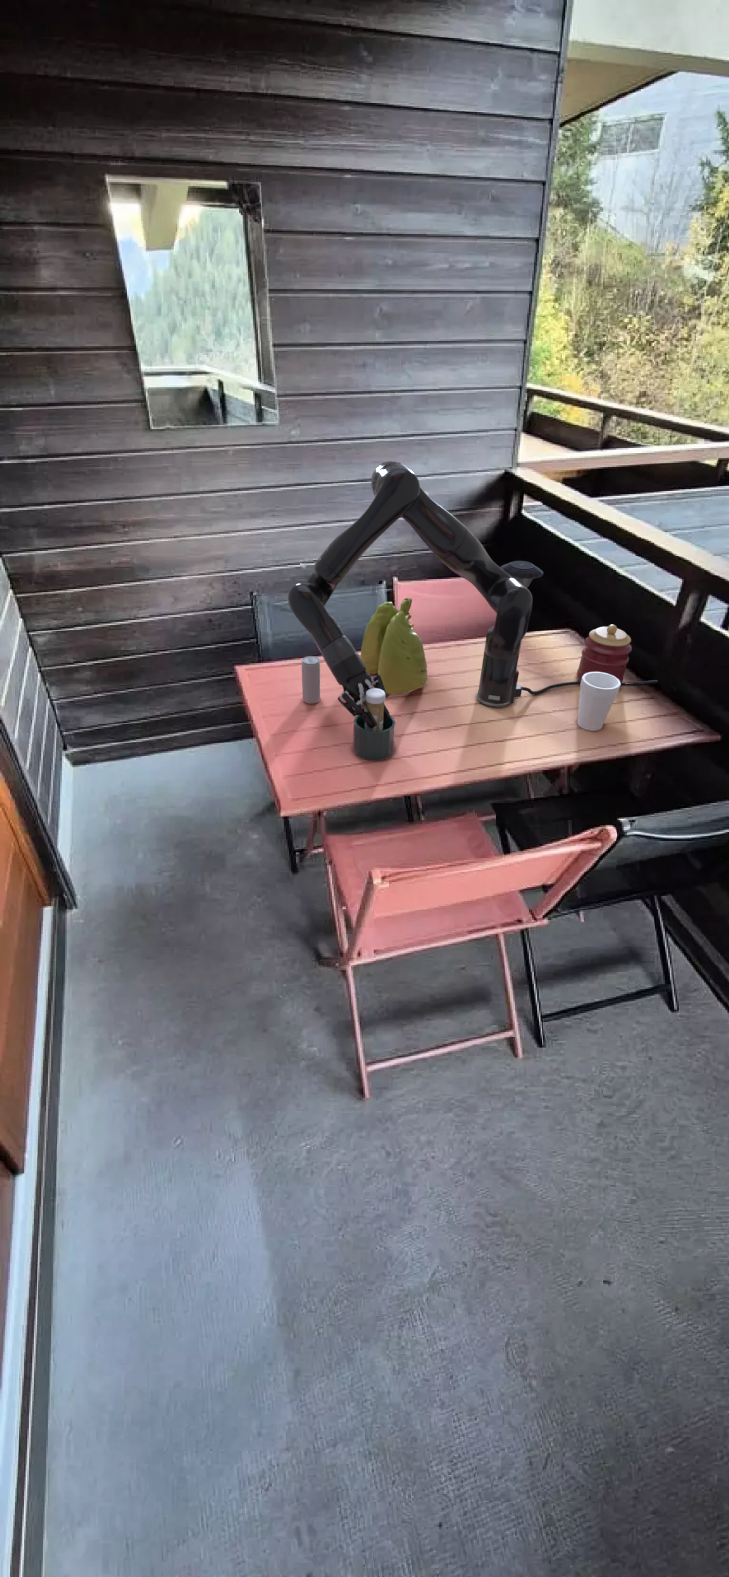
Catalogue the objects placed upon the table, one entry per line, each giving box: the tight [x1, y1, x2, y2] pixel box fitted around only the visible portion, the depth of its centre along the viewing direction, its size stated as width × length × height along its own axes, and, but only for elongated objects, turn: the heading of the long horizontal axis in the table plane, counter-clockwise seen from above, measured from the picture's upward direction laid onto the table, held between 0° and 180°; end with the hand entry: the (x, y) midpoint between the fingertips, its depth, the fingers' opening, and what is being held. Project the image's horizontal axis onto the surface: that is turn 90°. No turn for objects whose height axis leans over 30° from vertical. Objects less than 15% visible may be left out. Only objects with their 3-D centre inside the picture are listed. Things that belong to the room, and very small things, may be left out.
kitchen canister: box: [576, 624, 633, 684], centre depth 198 cm, size 13×13×18 cm
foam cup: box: [577, 672, 621, 732], centre depth 180 cm, size 10×9×13 cm
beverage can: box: [301, 655, 321, 705], centre depth 186 cm, size 5×5×12 cm
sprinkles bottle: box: [365, 688, 386, 731], centre depth 166 cm, size 5×5×14 cm
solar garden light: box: [499, 560, 544, 589], centre depth 203 cm, size 12×12×30 cm
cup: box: [352, 715, 396, 762], centre depth 169 cm, size 10×10×8 cm
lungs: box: [359, 597, 428, 695], centre depth 194 cm, size 25×16×24 cm, turn 18°
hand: (380, 722), depth 165 cm, fingers closed on sprinkles bottle, 4 cm apart
